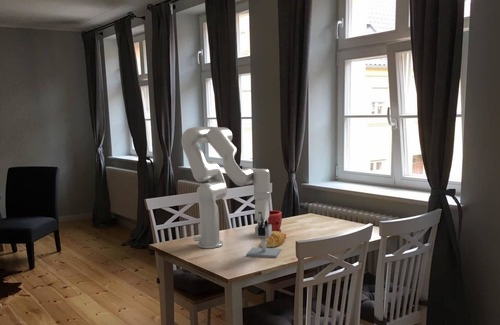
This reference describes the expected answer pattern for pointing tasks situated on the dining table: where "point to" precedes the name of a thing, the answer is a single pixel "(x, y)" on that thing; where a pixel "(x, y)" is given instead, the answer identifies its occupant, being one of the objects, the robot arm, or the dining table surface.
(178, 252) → the dining table surface
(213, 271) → the dining table surface
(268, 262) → the dining table surface
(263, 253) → the keeper
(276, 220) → the plant pot
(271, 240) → the croissant
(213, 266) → the dining table surface
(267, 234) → the grey hollow block
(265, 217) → the robot arm
